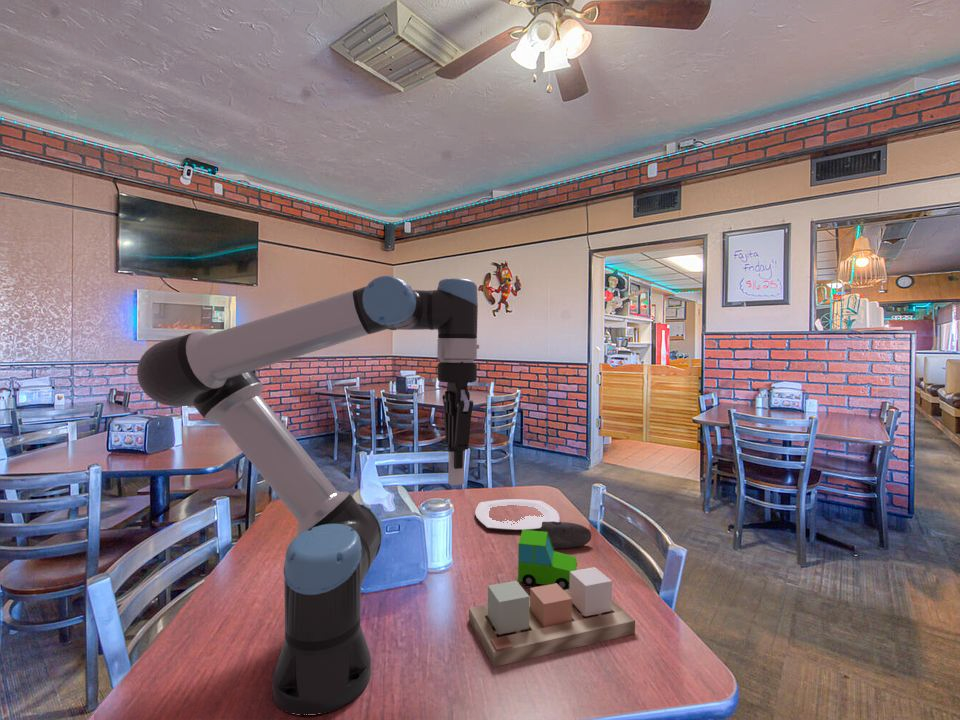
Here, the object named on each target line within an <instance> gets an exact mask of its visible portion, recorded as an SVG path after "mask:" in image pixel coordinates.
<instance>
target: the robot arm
mask: <svg viewBox="0 0 960 720" xmlns="http://www.w3.org/2000/svg"><path fill="white" fill-rule="evenodd" d="M478 305H479V304H478V286H477V284H476V283H475V281H473V280H470V279H466V278H445V279H441V280H439V281H438V285H437V289H433V290H432V289H431V290H425V289H424V290H423V289H422V290H421V289H420V290H419V289H412V287H411V285H409V283H408V282H406V281H404V280H403V279H402V278H398V277H396V276H391V275H381V276H378V277H376V278H374V279H372V280H371V281H369V283H368V284H367V285H366V286H364V287H360V288H357V289H353V290H351V291H347V292H345V293H343V292H342V293H341V294H338V295H337V294H336V295H333V296H331V297H328V298H325V299H321V300H318V301H315V302H312V303H308V304H305V305H304V304H303V305H302V306H298V307H294V308H292V309H289V310H284V311H281V312H278V313H276V314H273V315H269V316H267V317H262V318H259V319H256V320H253V321H249V322H246V323H242V324H240V325H236V326H233V327H230V328H227V329H224V330H220V331H216V332H214V333H210V334H208V333H206V332H205V331H195V332H190V333H188V334H185V335H181V336H178V337H173V338H169V339H166V340H162V341H159V342H157V343H155V344H153V345H152V346H150V347H149V348H148V349H147V350H146V351H144V353H143V354H142V355H141V357H140V359H139V361H138V364H137V368H136V376H137V381H138V384H139V386H140V389H141V390H142V391H143V393H145V395H146V396H147V397H148V398H149V399H152V400H153V401H155V402H157V403H159V404H162V405H164V406H167V407H168V406H169V407H187V406H193V407H194V408H195V409H196V410H197V411H198V413H199V414H200V415H201V417H202V418H203V419H204V421H205V422H210V423H218V424H219V425H220V426H221V427H222V428H223V429H224V430H225V432H226V433H227V434H228V435H229V437H230V438H231V440H233V442H234V443H235V444H236V446H237V447H238V448H239V450H240V451H241V453H243V455H244V456H245V457H246V458H247V459H248V461H249V462H250V463H251V464H252V466H253V467H254V468H255V470H256V471H258V473H259V474H260V476H261V477H262V478H263V480H265V482H266V483H267V484H268V485H269V487H270V488H271V490H273V492H274V493H275V494H276V495H277V497H278V498H279V500H280V501H281V502H282V503H283V504H284V506H285V507H286V508H287V509H288V510H289V512H290V513H291V514H292V516H293V517H294V518H295V519H296V521H297V522H298V526H297V534H296V536H295V537H294V538H293V539H292V541H290V543H289V544H288V546H287V548H286V551H285V559H284V562H283V563H284V566H283V569H282V570H283V578H284V642H283V644H282V647H281V650H280V653H279V657H278V659H277V662H276V666H275V668H274V672H273V674H272V698H274V699H273V701H274V703H275V704H277V705H278V706H279V707H280V708H281V709H280V708H279V707H278V706H277V705H276V706H277V707H278V708H279V709H280V710H282V711H283V710H284V711H283V712H285V711H287V712H289V713H288V714H290V713H295V714H300V715H304V714H305V715H306V714H307V715H308V714H318V713H325V712H328V713H330V712H329V711H331V712H333V711H332V710H334V711H336V710H335V709H337V708H339V709H340V707H341V708H342V706H343V707H344V705H345V704H346V705H348V704H350V703H351V702H353V701H354V700H355V699H356V698H358V697H359V695H361V693H363V691H364V690H365V689H366V687H367V685H368V683H369V682H370V679H371V676H372V675H371V674H372V656H371V652H370V649H369V645H368V643H367V641H366V638H365V635H364V632H363V629H362V626H361V601H362V600H361V597H362V596H361V591H362V584H363V582H364V580H365V578H366V576H367V573H368V572H369V570H370V568H371V566H372V564H373V562H374V560H375V559H376V557H377V556H378V554H379V551H380V549H381V545H382V540H383V532H384V531H383V525H382V521H381V519H380V517H379V515H378V514H377V512H376V511H375V510H374V509H373V508H372V507H370V506H369V505H367V504H364V503H362V504H361V503H360V502H357V501H356V500H355V498H354V497H353V496H352V494H351V493H349V492H348V491H339V490H337V489H336V488H335V487H334V485H333V484H332V483H331V482H330V480H329V479H328V478H327V476H326V475H325V474H324V473H323V471H321V469H320V467H318V465H317V464H316V463H315V461H314V460H313V459H312V458H311V457H310V455H309V454H308V453H307V451H306V450H305V449H304V448H303V446H302V445H301V444H300V443H299V442H298V440H297V439H296V438H295V437H294V436H293V434H292V432H290V430H289V429H288V428H287V427H286V425H285V424H284V423H283V421H282V420H281V419H280V417H279V416H278V415H277V414H276V412H274V410H273V409H272V408H271V407H270V405H269V404H268V403H267V401H266V400H265V399H264V398H263V395H262V394H263V393H262V392H263V387H264V384H263V383H262V382H261V380H260V379H259V378H258V377H257V370H259V369H263V368H265V367H266V368H267V367H268V366H272V365H276V364H279V363H281V362H285V361H288V360H291V359H295V358H297V357H301V356H304V355H306V354H310V353H313V352H317V351H320V350H323V349H327V348H329V347H333V346H336V345H339V344H342V343H345V342H348V341H351V340H354V339H358V338H360V337H365V336H368V335H372V334H375V333H379V332H382V331H386V330H389V331H397V330H403V331H404V330H405V331H406V330H407V331H411V330H412V331H413V330H429V331H435V330H437V334H438V335H437V350H436V351H437V352H436V353H437V355H436V357H437V359H438V360H440V362H438V364H437V381H438V382H440V383H447V384H446V390H445V391H444V394H442V396H441V397H442V403H443V415H444V416H443V417H444V419H443V420H444V433H445V434H444V435H445V438H444V440H445V445H446V444H447V452H448V475H447V476H448V477H447V478H448V479H447V480H448V481H447V482H448V485H449V486H458V485H459V486H461V485H465V451H467V450H469V447H470V446H469V445H470V444H469V443H470V435H471V432H470V431H471V422H472V412H473V408H474V401H473V400H470V396H471V394H470V392H469V387H468V383H475V382H477V378H478V377H477V376H478V369H477V368H478V364H477V363H476V362H474V360H476V359H477V358H478V356H477V355H478V354H477V353H478V351H477V350H478V349H480V344H479V343H478V313H479V312H478V311H479V310H478V307H479V306H478ZM349 702H350V703H349ZM347 703H348V704H347ZM346 705H345V706H346ZM337 710H338V709H337ZM287 712H286V713H287ZM325 714H326V713H325Z"/></svg>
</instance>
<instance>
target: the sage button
mask: <svg viewBox="0 0 960 720" xmlns="http://www.w3.org/2000/svg"><path fill="white" fill-rule="evenodd" d="M529 597H530V594H528V593H527V592H526V590H525V589H524V588H523V587H522V586H521V584H520V583H519V581H518V580H512V581H507V582H501V583H495V584H489V585H488V586H487V604H488V618H489V619H490V621H491V623H492V624H493V626H494V627H493V628H494V630H495V631H496V632H497V634H498V635H499V636H501V635H504V634H505V635H506V634H509V633H514V632H520V631H523V630H524V629H529Z"/></svg>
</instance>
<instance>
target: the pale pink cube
mask: <svg viewBox="0 0 960 720" xmlns="http://www.w3.org/2000/svg"><path fill="white" fill-rule="evenodd" d="M569 589H570V593H569V596H570V597H571V598H572V603H573V604H574V605H575V606H576V607H577V608H578V609H577V610H578V612H580V613H581V614H582V615H583V616H584V617H589V616H590V617H591V616H593V615H598V614H603V613H604V612H609V611H612V601H613V595H612V594H613V580H612V579H610V578H609V577H608V576H606V575H605V574H604V573H603V572H602V571H600V570H599V569H598V568H596V567H595V566H593V567H588V568H581V569H577V570H575V571H570V587H569Z"/></svg>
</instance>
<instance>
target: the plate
mask: <svg viewBox="0 0 960 720" xmlns="http://www.w3.org/2000/svg"><path fill="white" fill-rule="evenodd" d="M507 505H517V506H518V505H519V506H528V507H534V508H536V509H538V511H540V512H541V513H542V514H543V515H544V516H543V515H542V516H543V517H541V515H540V517H539V516H538V517H537V516H535V515H534V516H530V515H529V516H525V517H524V518H525V519H524V518H522V517H521V518H522V519H523V520H522V519H520V521H519V520H518V521H517V522H518V523H517V522H515V521H513V520H512V521H513V522H512V521H509V520H507V521H502V522H500V521H496V520H492V518H490V517H489V511H490V508H492V507H497V506H507ZM474 515H475V516H476V519H478V521H479V522H480V523H481V524H482V525H483V526H484V527H486V528H487V529H493V530H506V531H522V530H532V531H535V530H540V528H541V527H542V522H561V521H560V520H561V518H560V514H559V512H558V511H557V510H556V509H555V508H553V507H552V506H551V505H550V504H548V503H545V501H543V500H539V499H538V500H537V499H536V500H535V499H521V498H520V499H519V498H517V499H516V498H515V499H514V498H509V499H506V498H505V499H494V500H487V501H480V502H479V503H478V505H477V506H476V508H475V511H474ZM505 520H506V519H505ZM503 522H504V523H503ZM507 522H508V523H507ZM513 523H515V524H513ZM511 524H512V525H511Z"/></svg>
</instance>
